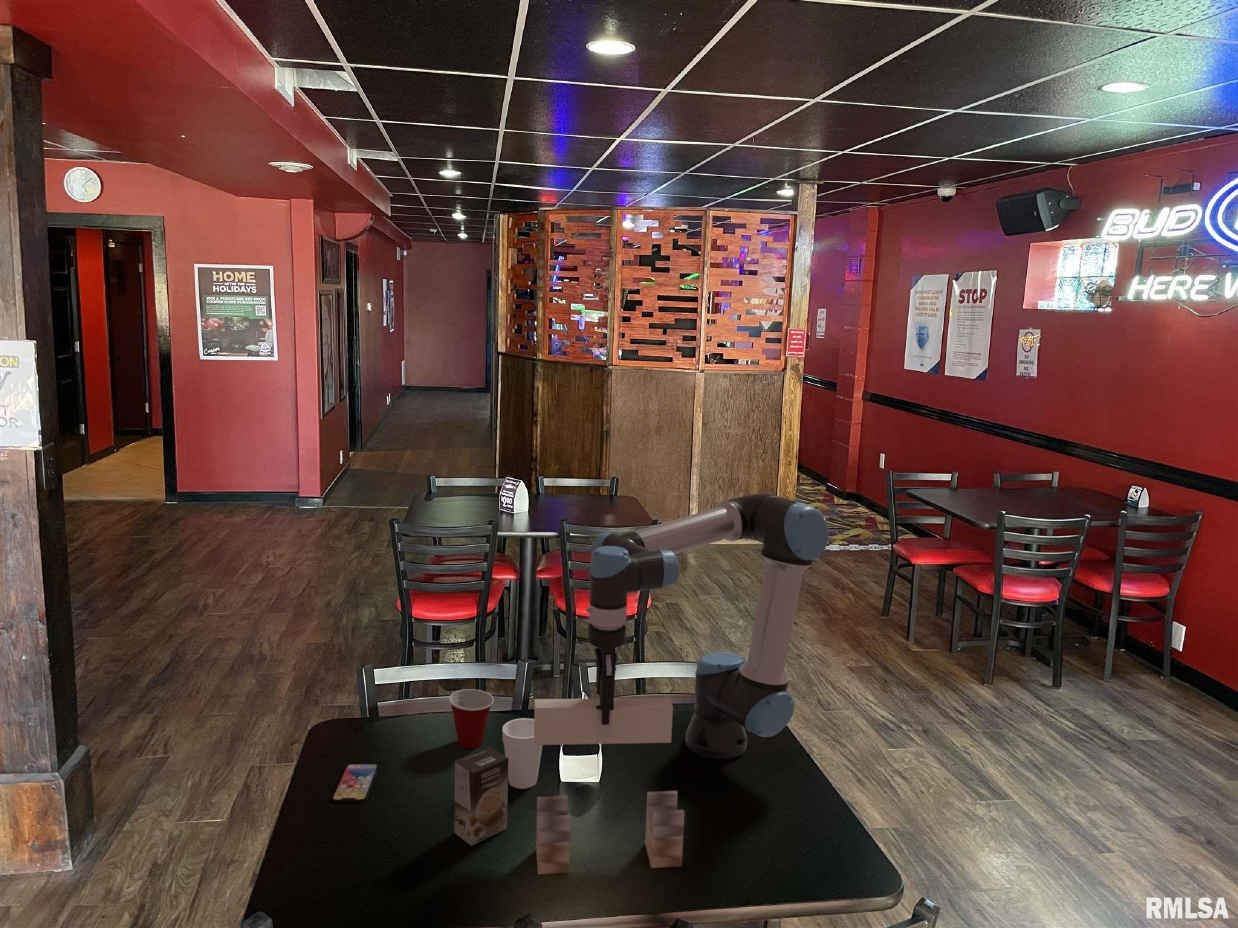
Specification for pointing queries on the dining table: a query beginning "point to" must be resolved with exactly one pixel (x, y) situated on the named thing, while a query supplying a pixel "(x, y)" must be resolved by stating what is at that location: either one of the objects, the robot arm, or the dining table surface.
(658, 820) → the brackets
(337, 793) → the smartphone
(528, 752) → the foam cup
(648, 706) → the rail
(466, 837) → the coffee box
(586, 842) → the dining table surface
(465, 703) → the plastic cup
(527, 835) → the dining table surface
